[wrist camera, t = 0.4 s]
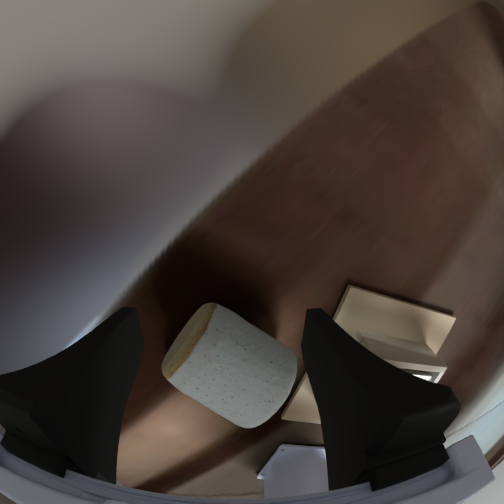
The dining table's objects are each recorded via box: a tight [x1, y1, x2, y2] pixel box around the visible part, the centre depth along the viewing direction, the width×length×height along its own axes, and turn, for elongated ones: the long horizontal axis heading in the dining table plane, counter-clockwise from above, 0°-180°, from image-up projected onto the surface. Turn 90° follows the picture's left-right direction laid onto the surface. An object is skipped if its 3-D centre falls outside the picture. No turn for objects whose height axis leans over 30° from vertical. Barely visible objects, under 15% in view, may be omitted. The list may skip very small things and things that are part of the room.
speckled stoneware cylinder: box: [162, 302, 297, 428], centre depth 21 cm, size 11×8×8 cm
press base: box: [281, 284, 456, 424], centre depth 23 cm, size 16×14×5 cm
